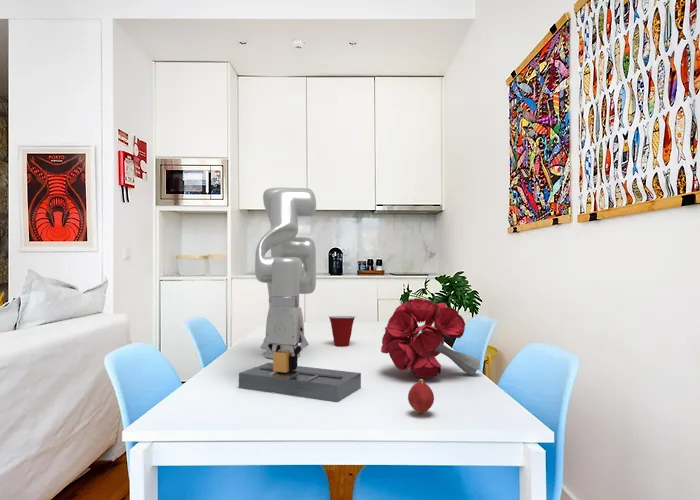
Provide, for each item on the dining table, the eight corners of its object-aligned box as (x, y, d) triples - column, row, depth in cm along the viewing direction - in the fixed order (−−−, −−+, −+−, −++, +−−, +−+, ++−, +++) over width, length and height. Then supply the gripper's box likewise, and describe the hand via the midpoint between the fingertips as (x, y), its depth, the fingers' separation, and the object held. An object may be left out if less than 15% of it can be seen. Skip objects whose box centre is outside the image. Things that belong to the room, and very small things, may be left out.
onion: (405, 410, 111) (405, 375, 111) (430, 409, 112) (430, 375, 112) (411, 418, 105) (411, 382, 105) (436, 418, 106) (436, 381, 106)
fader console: (238, 387, 130) (238, 371, 130) (268, 376, 143) (268, 361, 143) (337, 402, 117) (337, 384, 117) (360, 387, 130) (360, 371, 130)
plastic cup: (355, 342, 198) (355, 313, 198) (355, 347, 187) (355, 317, 187) (329, 342, 198) (329, 313, 198) (327, 347, 187) (327, 316, 187)
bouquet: (448, 386, 156) (368, 341, 155) (485, 324, 155) (405, 278, 154) (463, 412, 135) (371, 360, 134) (507, 341, 133) (414, 287, 133)
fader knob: (272, 371, 130) (272, 351, 130) (284, 366, 136) (284, 347, 136) (285, 372, 128) (286, 352, 128) (297, 367, 134) (297, 348, 134)
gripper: (252, 302, 132) (252, 369, 132) (305, 305, 125) (305, 375, 125) (267, 300, 139) (267, 363, 139) (318, 302, 132) (318, 369, 132)
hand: (285, 368), depth 132 cm, fingers closed on fader knob, 4 cm apart
